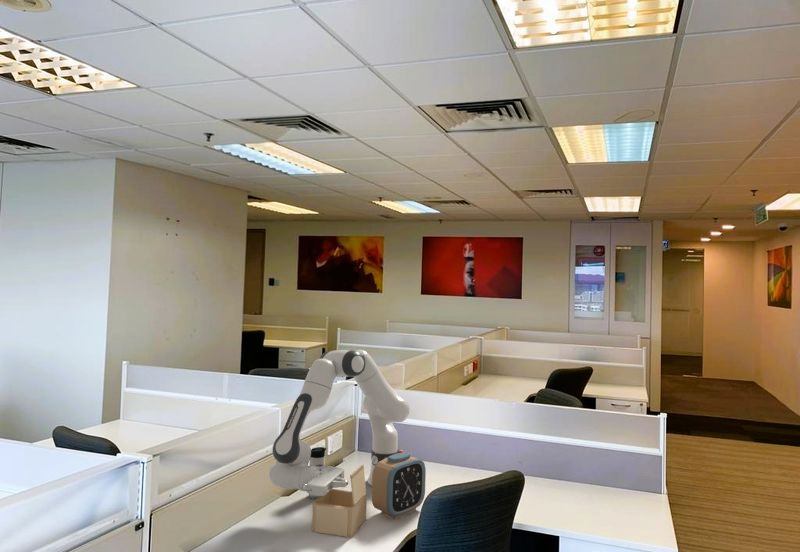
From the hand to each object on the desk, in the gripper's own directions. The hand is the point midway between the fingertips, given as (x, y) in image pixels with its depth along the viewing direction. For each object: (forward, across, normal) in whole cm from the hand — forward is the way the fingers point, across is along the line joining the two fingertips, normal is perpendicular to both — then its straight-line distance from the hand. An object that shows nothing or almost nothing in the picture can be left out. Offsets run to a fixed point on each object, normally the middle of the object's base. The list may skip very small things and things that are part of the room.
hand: (346, 483), depth 205 cm
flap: (+5, 0, +5) cm, 7 cm away
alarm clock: (+14, +19, +16) cm, 29 cm away
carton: (-2, 0, +16) cm, 16 cm away
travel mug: (-22, +23, +16) cm, 35 cm away
